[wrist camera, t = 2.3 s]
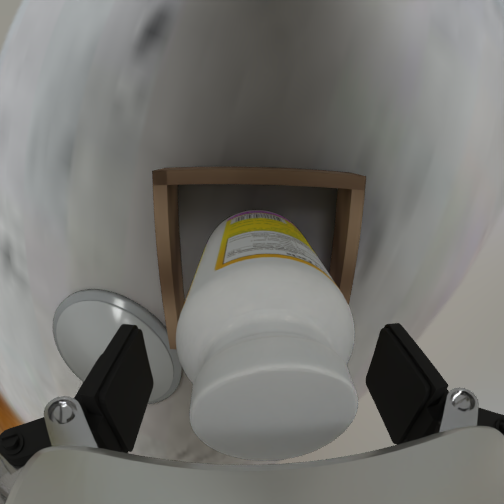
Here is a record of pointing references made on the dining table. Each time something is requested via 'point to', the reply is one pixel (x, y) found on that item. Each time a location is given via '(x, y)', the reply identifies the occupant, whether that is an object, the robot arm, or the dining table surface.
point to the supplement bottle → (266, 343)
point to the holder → (170, 178)
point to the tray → (103, 330)
